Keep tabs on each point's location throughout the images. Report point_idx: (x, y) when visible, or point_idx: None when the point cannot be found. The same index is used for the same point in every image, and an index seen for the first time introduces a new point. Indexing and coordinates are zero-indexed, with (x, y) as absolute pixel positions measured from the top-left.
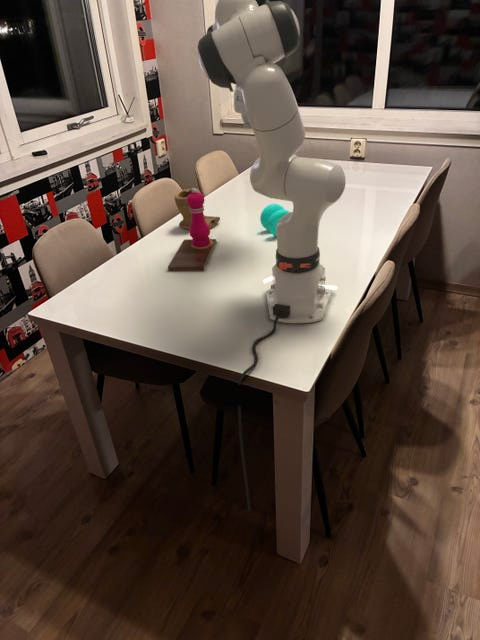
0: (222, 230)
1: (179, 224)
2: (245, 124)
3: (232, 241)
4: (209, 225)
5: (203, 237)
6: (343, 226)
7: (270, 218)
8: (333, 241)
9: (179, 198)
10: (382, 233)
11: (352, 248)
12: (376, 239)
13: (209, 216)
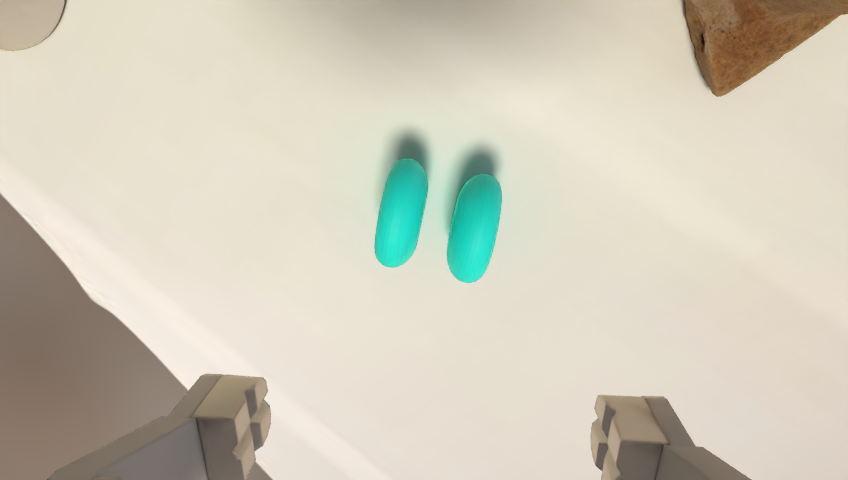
0: (629, 54)
1: None
2: (645, 429)
3: (499, 25)
4: (691, 11)
5: None
6: (339, 377)
7: (401, 175)
8: (264, 288)
9: None
10: None
11: (191, 293)
12: None
13: (753, 47)
